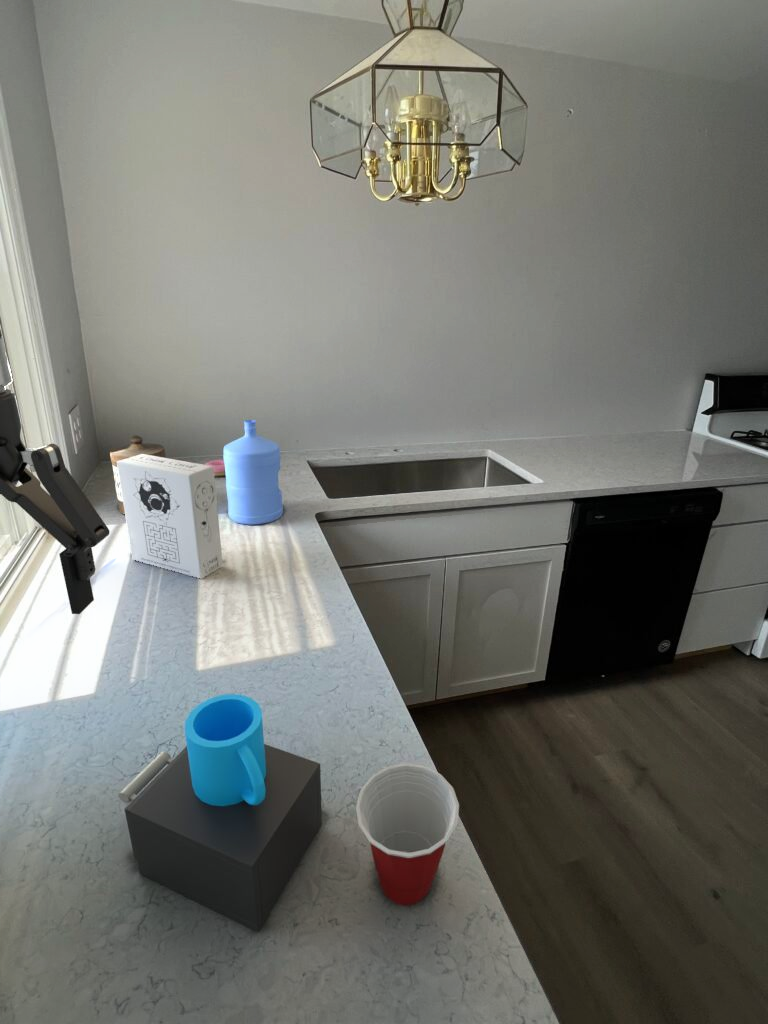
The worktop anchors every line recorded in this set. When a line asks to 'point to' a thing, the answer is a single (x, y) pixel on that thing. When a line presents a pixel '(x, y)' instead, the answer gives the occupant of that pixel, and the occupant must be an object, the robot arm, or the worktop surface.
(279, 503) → the water jug
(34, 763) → the worktop surface
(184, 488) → the cereal box
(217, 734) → the mug
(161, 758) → the drawer
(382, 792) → the plastic cup
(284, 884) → the dark grey rectangular box
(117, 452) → the wooden container
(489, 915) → the worktop surface
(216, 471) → the doughnut
